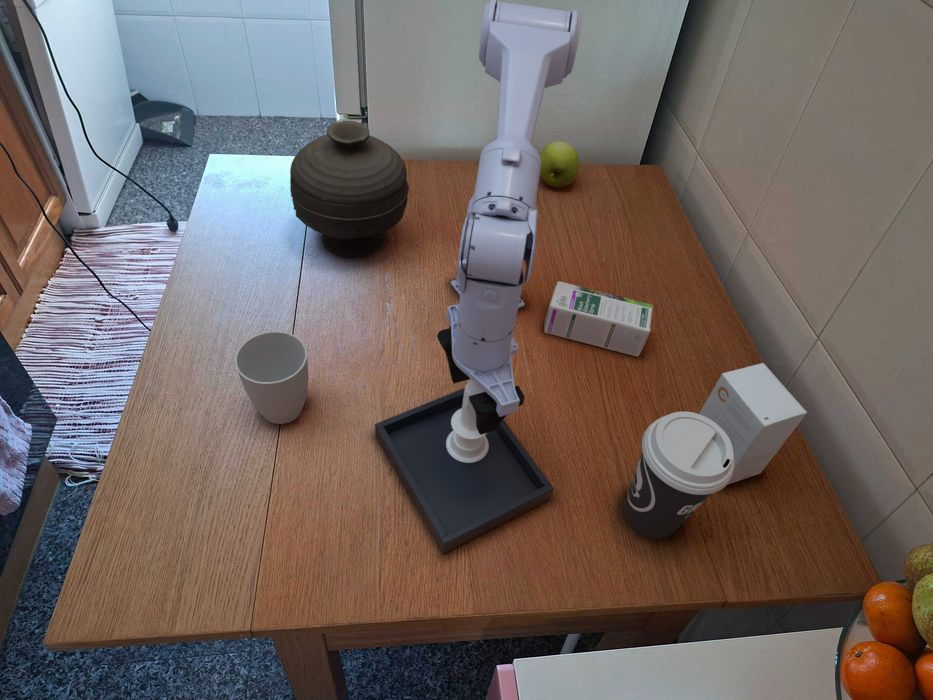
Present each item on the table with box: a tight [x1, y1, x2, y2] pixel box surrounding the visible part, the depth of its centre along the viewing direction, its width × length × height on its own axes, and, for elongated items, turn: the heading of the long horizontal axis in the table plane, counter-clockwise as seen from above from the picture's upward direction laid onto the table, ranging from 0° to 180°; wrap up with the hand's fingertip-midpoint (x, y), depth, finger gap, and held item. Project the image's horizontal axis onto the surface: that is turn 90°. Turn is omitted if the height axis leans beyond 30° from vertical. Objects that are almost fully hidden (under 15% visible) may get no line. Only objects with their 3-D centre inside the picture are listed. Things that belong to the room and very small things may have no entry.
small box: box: [698, 362, 808, 486], centre depth 79 cm, size 8×6×13 cm
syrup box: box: [543, 280, 654, 357], centre depth 94 cm, size 6×6×14 cm
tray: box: [374, 387, 554, 555], centre depth 78 cm, size 18×15×3 cm
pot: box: [289, 120, 410, 260], centre depth 99 cm, size 18×18×20 cm
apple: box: [539, 140, 580, 188], centre depth 120 cm, size 8×9×8 cm
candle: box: [446, 379, 489, 463], centre depth 76 cm, size 5×5×12 cm
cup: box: [234, 330, 309, 425], centre depth 79 cm, size 8×8×10 cm
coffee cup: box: [623, 411, 734, 540], centre depth 71 cm, size 10×10×15 cm
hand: (473, 404), depth 74 cm, fingers open, 7 cm apart
